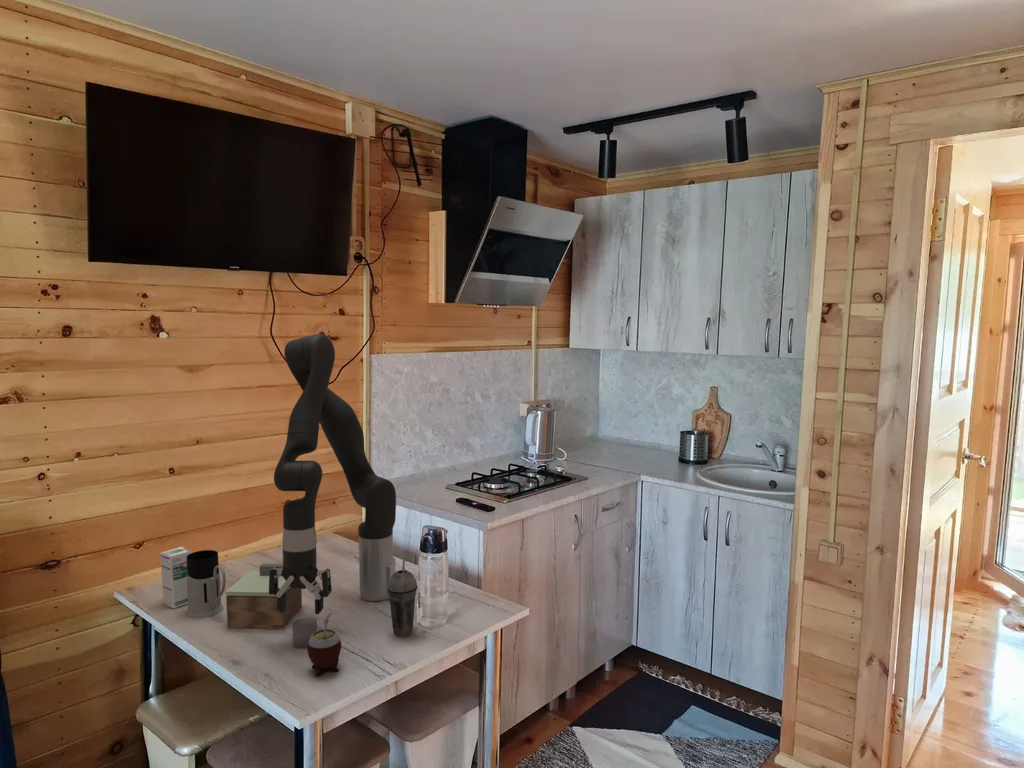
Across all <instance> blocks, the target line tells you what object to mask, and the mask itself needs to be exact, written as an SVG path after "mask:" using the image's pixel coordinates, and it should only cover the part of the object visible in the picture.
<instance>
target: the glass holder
mask: <svg viewBox="0 0 1024 768" xmlns="http://www.w3.org/2000/svg"><path fill="white" fill-rule="evenodd" d="M186 558H187V592H188V604H187V607H188V608H187V610H186V616H187V617H189V618H194V619H195V618H196V619H199V618H201V619H202V618H203V619H204V618H208V617H212V616H214V615H217V614H219V613H221V612H223V610H224V606H223V604H222V596H223V595H224V593H225V589H226V583H227V582H226V572H225V569H224V567H223V566H222V565H220V564H219V552H218V551H216V550H213V549H209V550H208V549H203V550H198V551H194V552H191V554H189V555H188V556H187V557H186ZM220 572H221V573H220ZM221 574H222V584H221ZM221 585H222V586H221Z"/></svg>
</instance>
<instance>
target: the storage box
mask: <svg viewBox="0 0 1024 768" xmlns="http://www.w3.org/2000/svg"><path fill="white" fill-rule="evenodd" d="M302 590H303V589H301V588H296V589H294V588H292V587H290V589H289V590H288V591H287V592H286V593H285V594H286V610H285V611H284V612H283V613H281V612H280V610H278V608H277V597H272V596H228V595H225V602H226V620H227V621H226V623H227V625H226V626H227V628H228V629H232V628H233V629H260V628H275V629H276V630H279V629H278V628H283V629H285V627H286V626H287V625H288V624H289V623H288V622H290V621H291V620H292V619H293V618H294V617H295V615H296V614H298V612H299V611H300V610H299V609H302V607H303V597H302V596H303V595H302ZM293 616H294V617H293ZM292 617H293V618H292ZM291 618H292V619H291ZM290 619H291V620H290ZM289 620H290V621H289ZM287 623H288V624H287ZM286 624H287V625H286ZM285 625H286V626H285ZM275 629H274V630H275Z"/></svg>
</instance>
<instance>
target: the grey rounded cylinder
mask: <svg viewBox="0 0 1024 768" xmlns="http://www.w3.org/2000/svg"><path fill="white" fill-rule="evenodd" d="M291 628H292V646H293V648H295V649H299V650H300V649H303V650H304V649H307V648H308V642H309V639H310V637H311V636H312V634H313V633H315V632H317V631H318V620H317V618H314V617H309V616H308V617H301V618H298V619H296V620H294V621H293V622H292V626H291Z"/></svg>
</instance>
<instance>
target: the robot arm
mask: <svg viewBox="0 0 1024 768" xmlns="http://www.w3.org/2000/svg"><path fill="white" fill-rule="evenodd" d="M284 358H285V359H284V360H285V361H286V364H287V366H288V369H289V370H290V372H291V374H292V376H293V377H294V379H295V380H296V382H297V383H298V385H299V387H300V388H301V389H300V390H302V393H301V395H300V396H299V398H298V399H297V401H296V403H295V405H294V406H293V408H292V410H291V413H290V416H289V418H288V424H287V425H288V426H287V435H286V441H285V446H284V448H283V451H282V453H281V456H280V458H279V460H278V462H277V465H276V467H275V469H274V473H273V482H274V485H275V487H276V488H277V490H279V491H281V492H305V493H304V496H303V497H301V498H297V499H291V500H289V501H287V502H285V503H284V505H283V506H282V507H283V508H282V509H283V511H282V517H283V518H282V521H283V523H282V524H283V525H282V526H283V527H282V528H283V531H282V564H283V569H279V568H278V567H277V566H275V567H274V568H273V569H272V570H270V572H269V594H271V595H272V594H274V595H276V596H277V608H278V610H280V612H281V613H283V612H284V611H285V610H286V594H285V592H286V591H287V589H288V588H289V587H292V588H294V589H296V588H301V590H305V589H307V591H309V593H311V594H312V596H314V615H319V614H320V613H321V612H322V611H323V610H324V598H328V597H329V595H330V594H331V593H332V579H331V577H332V576H331V569H330V568H325V570H324V569H323V570H322V569H321V570H318V567H317V562H318V561H317V543H318V541H317V540H318V539H317V532H316V514H315V513H316V512H315V511H316V501H317V496H318V493H319V488H320V487H321V482H322V478H323V468H322V466H321V464H320V463H319V462H317V461H316V460H297V458H299V457H300V456H303V455H307V454H311V453H313V452H315V451H316V450H317V447H318V442H319V431H320V426H321V428H322V431H323V433H324V436H325V437H326V440H327V441H328V443H329V445H330V447H331V449H332V450H333V451H332V452H333V453H334V455H335V457H336V459H337V461H338V463H339V464H340V467H341V468H342V470H343V473H344V475H345V478H346V481H347V484H348V486H349V489H350V494H351V496H352V498H353V500H354V501H355V503H356V504H358V506H360V507H362V508H364V509H365V510H364V511H365V517H364V521H363V522H361V523H360V524H359V525H358V534H357V535H358V561H359V562H358V565H359V566H358V567H359V569H358V570H359V574H358V575H359V597H360V598H361V599H362V600H364V601H368V602H380V601H384V600H385V601H386V600H390V598H389V595H388V590H387V587H388V582H389V579H390V577H391V576H392V575H393V574H394V573H395V572H396V558H395V557H394V537H393V535H394V534H393V533H394V530H393V529H394V526H395V523H396V516H397V515H396V512H397V510H396V509H397V508H396V507H397V493H396V488H395V485H394V484H393V482H391V480H389V479H386V478H383V477H381V476H379V475H377V474H376V473H375V472H374V470H373V468H372V466H371V464H370V463H369V461H368V458H367V456H366V450H365V435H364V431H363V428H362V425H361V423H360V421H359V418H358V417H357V414H356V412H355V411H354V409H353V408H352V407H351V405H350V404H349V403H348V402H346V401H345V400H344V399H343V398H341V397H340V396H339V395H337V394H336V393H335V392H334V391H333V390H331V389H330V388H329V384H330V383H329V382H330V380H331V377H332V372H333V369H334V366H335V358H336V350H335V346H334V344H333V341H332V340H331V339H330V337H329V336H327V335H325V334H322V333H318V334H317V333H316V334H312V335H307V336H304V337H303V336H302V337H299V338H296V339H293V340H290V341H288V342H287V343H286V345H285V346H284ZM281 574H282V576H283V578H284V579H285V580H286V582H285V583H284V584H283V586H282V587H281V589H280V588H278V577H280V575H281ZM317 577H318V578H319V580H320V581H321V583H322V584H321V585H322V587H321V585H320V582H319V581H318V580H317V579H316V578H317Z"/></svg>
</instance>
